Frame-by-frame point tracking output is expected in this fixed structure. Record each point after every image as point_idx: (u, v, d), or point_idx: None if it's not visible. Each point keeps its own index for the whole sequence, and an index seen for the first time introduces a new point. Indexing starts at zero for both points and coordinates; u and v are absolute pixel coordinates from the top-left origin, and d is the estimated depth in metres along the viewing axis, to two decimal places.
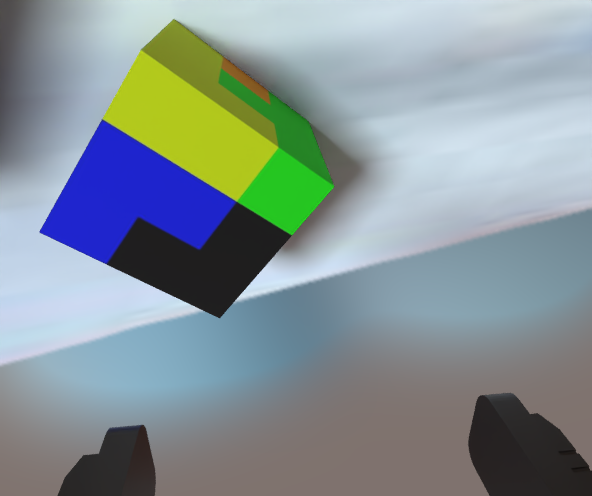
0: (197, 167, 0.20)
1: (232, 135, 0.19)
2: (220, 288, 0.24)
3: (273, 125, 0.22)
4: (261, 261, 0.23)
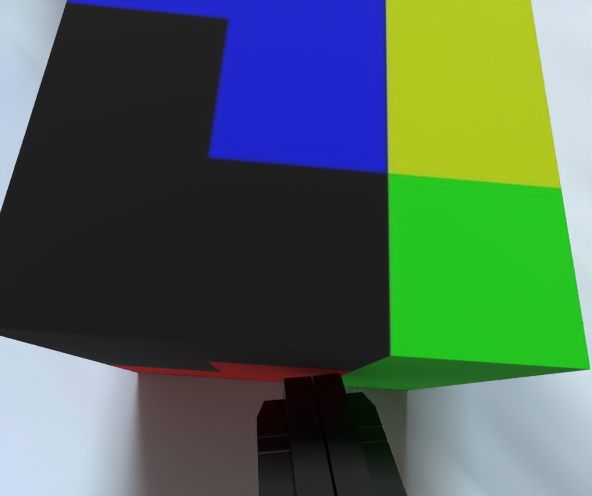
0: (405, 72, 0.09)
1: (510, 98, 0.09)
2: (98, 266, 0.07)
3: None
4: (257, 324, 0.07)
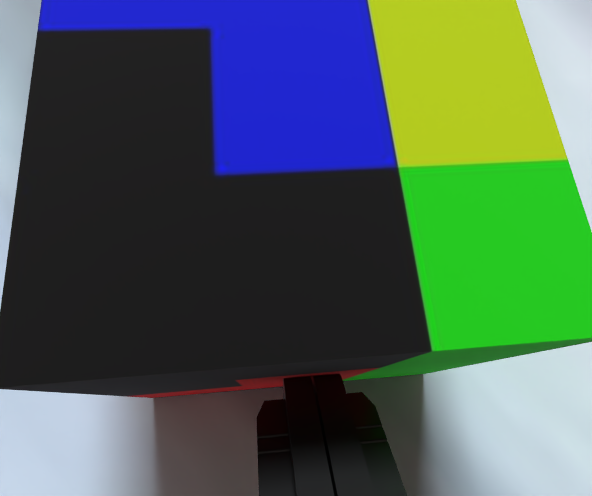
0: (398, 61, 0.09)
1: (504, 76, 0.09)
2: (120, 304, 0.07)
3: None
4: (295, 340, 0.07)
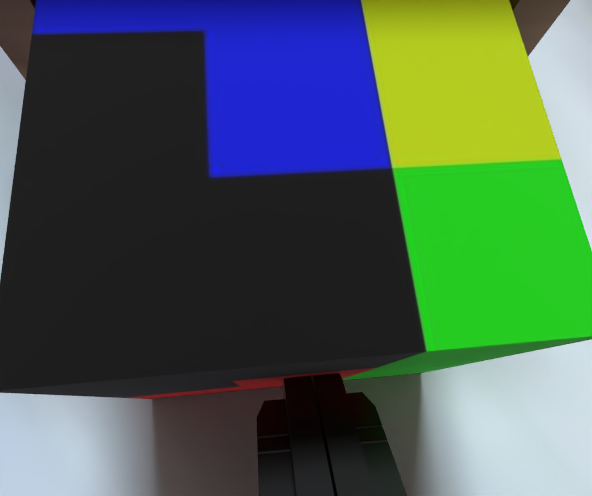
0: (391, 62, 0.09)
1: (498, 76, 0.09)
2: (116, 308, 0.07)
3: None
4: (290, 341, 0.07)
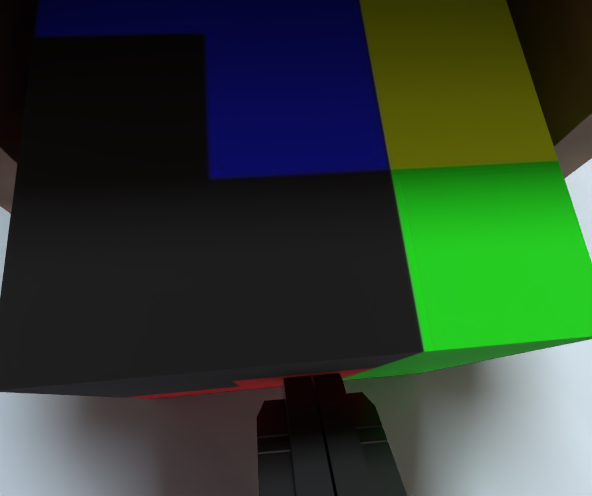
0: (390, 65, 0.09)
1: (495, 78, 0.09)
2: (117, 307, 0.07)
3: None
4: (288, 342, 0.07)
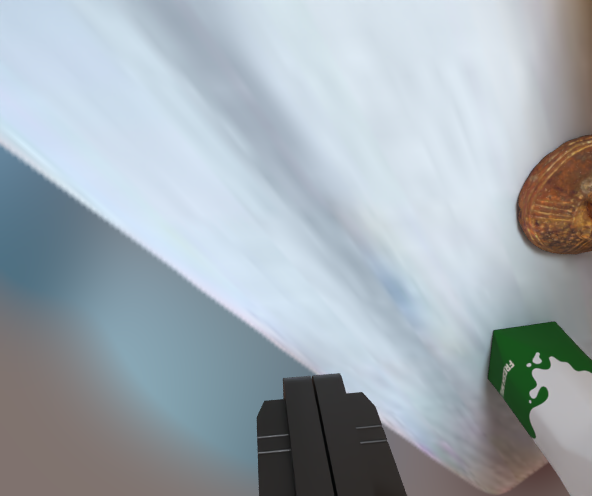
0: None
1: None
2: None
3: None
4: None
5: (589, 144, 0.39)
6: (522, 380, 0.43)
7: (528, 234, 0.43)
